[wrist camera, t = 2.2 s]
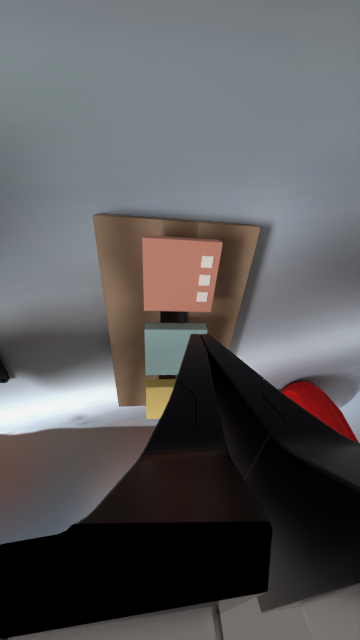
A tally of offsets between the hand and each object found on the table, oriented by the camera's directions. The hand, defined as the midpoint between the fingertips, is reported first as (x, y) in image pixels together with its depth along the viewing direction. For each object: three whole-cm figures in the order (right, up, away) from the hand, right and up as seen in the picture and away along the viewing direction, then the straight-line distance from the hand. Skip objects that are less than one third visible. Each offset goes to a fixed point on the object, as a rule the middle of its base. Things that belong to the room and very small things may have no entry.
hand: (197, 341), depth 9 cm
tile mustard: (-2, -8, +18) cm, 19 cm away
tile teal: (-2, -1, +13) cm, 14 cm away
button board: (-2, 0, +15) cm, 15 cm away
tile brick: (-1, +6, +9) cm, 11 cm away
